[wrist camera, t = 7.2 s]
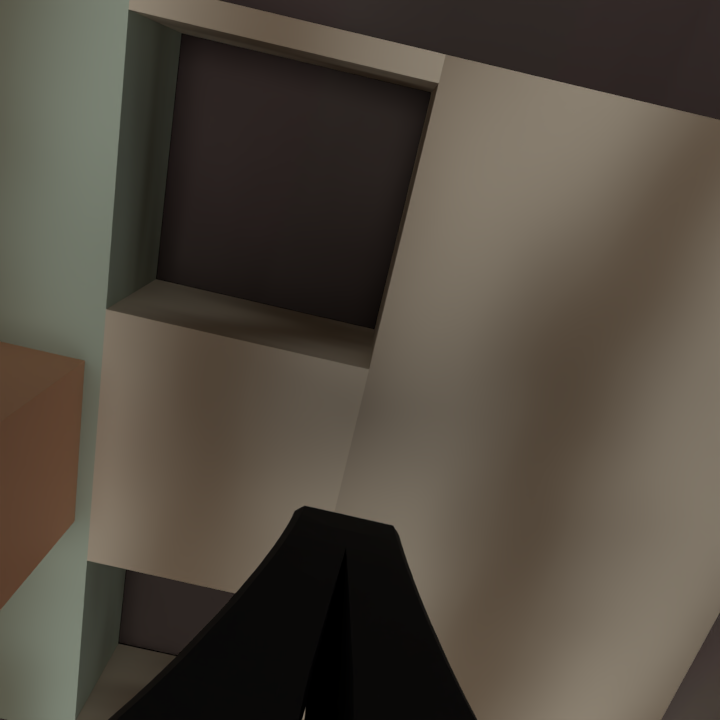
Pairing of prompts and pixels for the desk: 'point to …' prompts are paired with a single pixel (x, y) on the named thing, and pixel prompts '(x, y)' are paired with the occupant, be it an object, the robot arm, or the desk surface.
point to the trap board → (377, 369)
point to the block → (36, 457)
